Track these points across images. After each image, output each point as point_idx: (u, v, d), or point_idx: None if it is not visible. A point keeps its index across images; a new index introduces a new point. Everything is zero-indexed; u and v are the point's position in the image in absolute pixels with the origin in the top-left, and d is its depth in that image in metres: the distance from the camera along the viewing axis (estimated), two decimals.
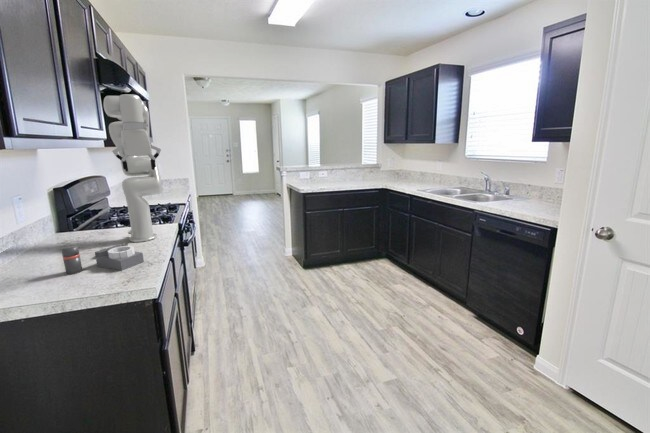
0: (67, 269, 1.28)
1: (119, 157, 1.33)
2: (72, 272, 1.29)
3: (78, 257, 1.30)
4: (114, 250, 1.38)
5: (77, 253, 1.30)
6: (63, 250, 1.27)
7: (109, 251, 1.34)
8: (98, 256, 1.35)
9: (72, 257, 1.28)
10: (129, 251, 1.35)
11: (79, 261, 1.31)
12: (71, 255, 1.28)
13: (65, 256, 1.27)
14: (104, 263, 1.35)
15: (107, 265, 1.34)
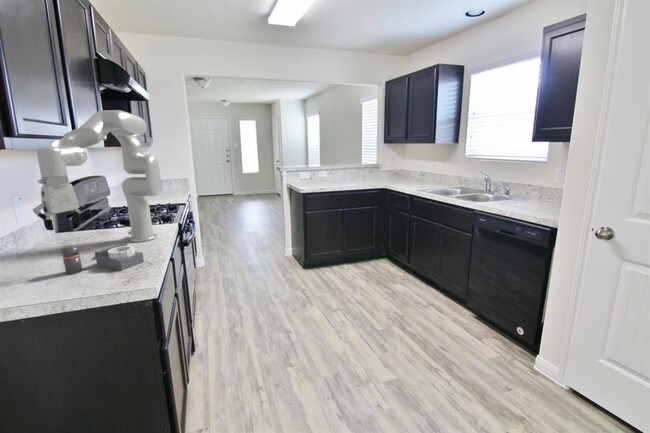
0: (67, 269, 1.28)
1: None
2: (72, 272, 1.29)
3: (78, 257, 1.30)
4: (114, 250, 1.38)
5: (77, 253, 1.30)
6: (63, 250, 1.27)
7: (109, 251, 1.34)
8: (98, 256, 1.35)
9: (72, 257, 1.28)
10: (129, 251, 1.35)
11: (79, 261, 1.31)
12: (71, 255, 1.28)
13: (65, 256, 1.27)
14: (104, 263, 1.35)
15: (107, 265, 1.34)
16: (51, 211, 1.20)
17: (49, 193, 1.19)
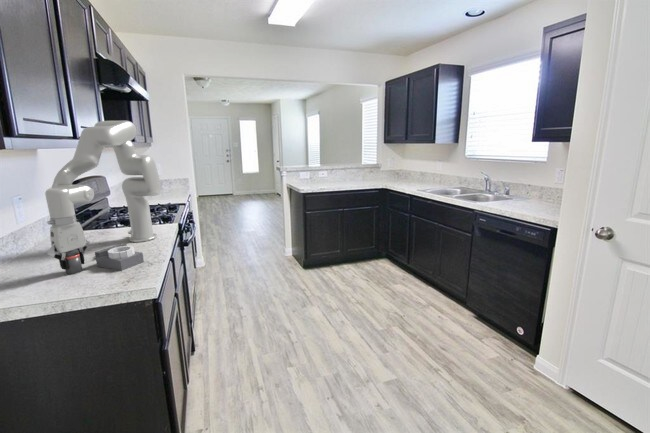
0: None
1: None
2: (72, 272, 1.29)
3: (78, 257, 1.30)
4: (114, 250, 1.38)
5: (77, 253, 1.30)
6: None
7: (109, 251, 1.34)
8: (98, 256, 1.35)
9: (72, 257, 1.28)
10: (129, 251, 1.35)
11: (79, 261, 1.31)
12: (71, 255, 1.28)
13: (65, 256, 1.27)
14: (104, 263, 1.35)
15: (107, 265, 1.34)
16: (60, 251, 1.24)
17: (58, 234, 1.23)
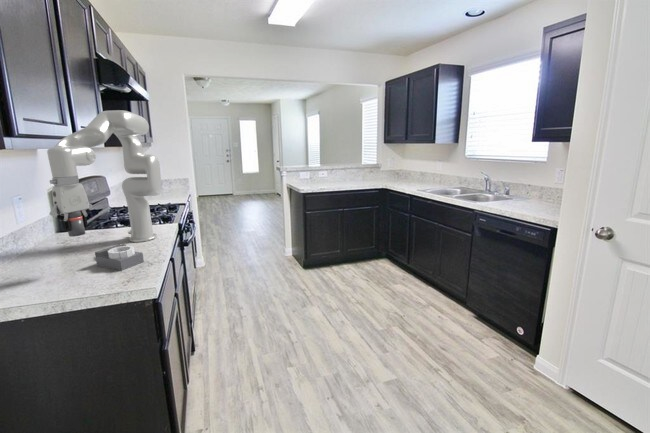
0: (70, 231, 1.27)
1: None
2: (75, 234, 1.27)
3: (80, 219, 1.28)
4: (114, 250, 1.38)
5: (80, 215, 1.28)
6: None
7: (109, 251, 1.34)
8: (98, 256, 1.35)
9: (75, 219, 1.26)
10: (129, 251, 1.35)
11: (82, 223, 1.29)
12: (73, 216, 1.26)
13: None
14: (104, 263, 1.35)
15: (107, 265, 1.34)
16: (62, 211, 1.22)
17: (60, 193, 1.21)
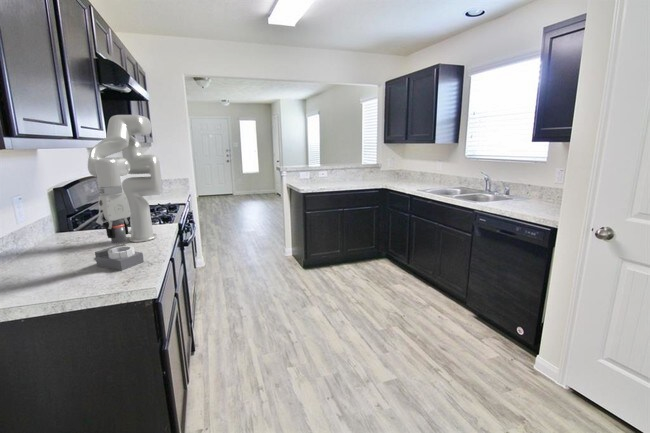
0: (113, 238, 1.33)
1: None
2: (118, 241, 1.33)
3: (123, 226, 1.34)
4: (114, 250, 1.38)
5: (122, 223, 1.34)
6: None
7: (109, 251, 1.34)
8: (98, 256, 1.35)
9: (118, 226, 1.32)
10: (129, 251, 1.35)
11: (124, 231, 1.35)
12: (117, 224, 1.32)
13: (112, 225, 1.31)
14: (104, 263, 1.35)
15: (107, 265, 1.34)
16: (108, 219, 1.28)
17: (106, 202, 1.27)
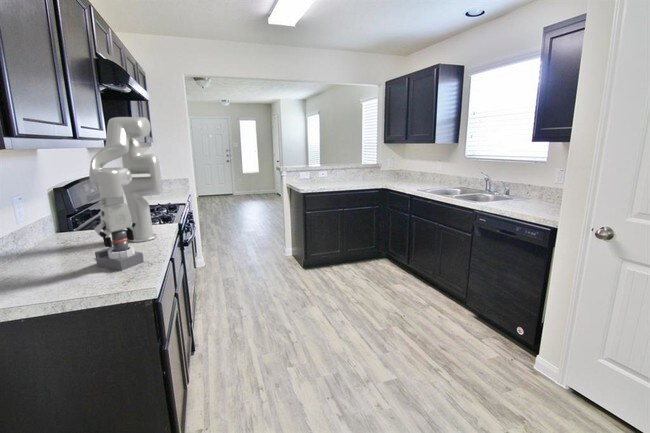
0: None
1: None
2: None
3: (126, 240, 1.36)
4: None
5: (125, 237, 1.36)
6: (113, 233, 1.33)
7: (109, 251, 1.34)
8: (98, 256, 1.35)
9: (121, 240, 1.34)
10: (129, 251, 1.35)
11: (127, 244, 1.37)
12: (120, 238, 1.34)
13: (115, 239, 1.33)
14: (104, 263, 1.35)
15: (107, 265, 1.34)
16: (110, 230, 1.29)
17: (108, 213, 1.28)
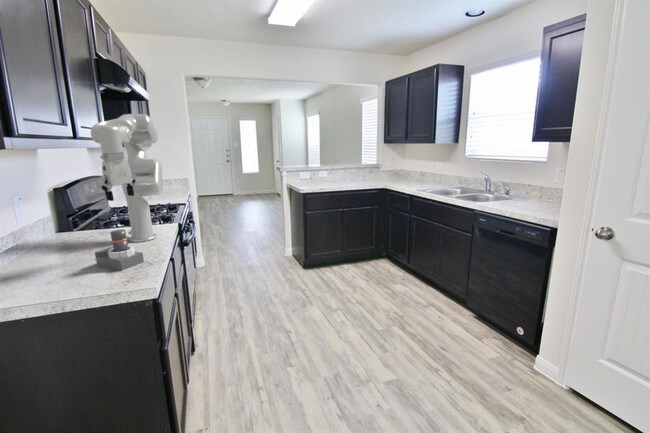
0: None
1: None
2: None
3: (125, 241, 1.36)
4: None
5: (125, 237, 1.35)
6: (112, 234, 1.32)
7: (109, 251, 1.34)
8: (98, 256, 1.35)
9: (121, 240, 1.34)
10: (129, 251, 1.35)
11: (126, 244, 1.36)
12: (120, 239, 1.33)
13: (114, 239, 1.33)
14: (104, 263, 1.35)
15: (107, 265, 1.34)
16: (112, 184, 1.36)
17: (110, 168, 1.35)
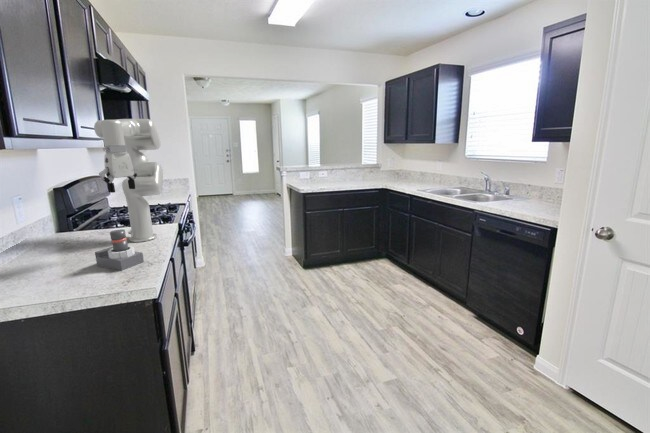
0: None
1: None
2: None
3: (125, 240, 1.36)
4: None
5: (124, 237, 1.35)
6: (112, 233, 1.33)
7: (109, 251, 1.34)
8: (98, 256, 1.35)
9: (120, 240, 1.34)
10: (129, 251, 1.35)
11: (126, 244, 1.36)
12: (119, 238, 1.34)
13: (113, 239, 1.33)
14: (104, 263, 1.35)
15: (107, 265, 1.34)
16: (113, 175, 1.39)
17: (112, 160, 1.38)
